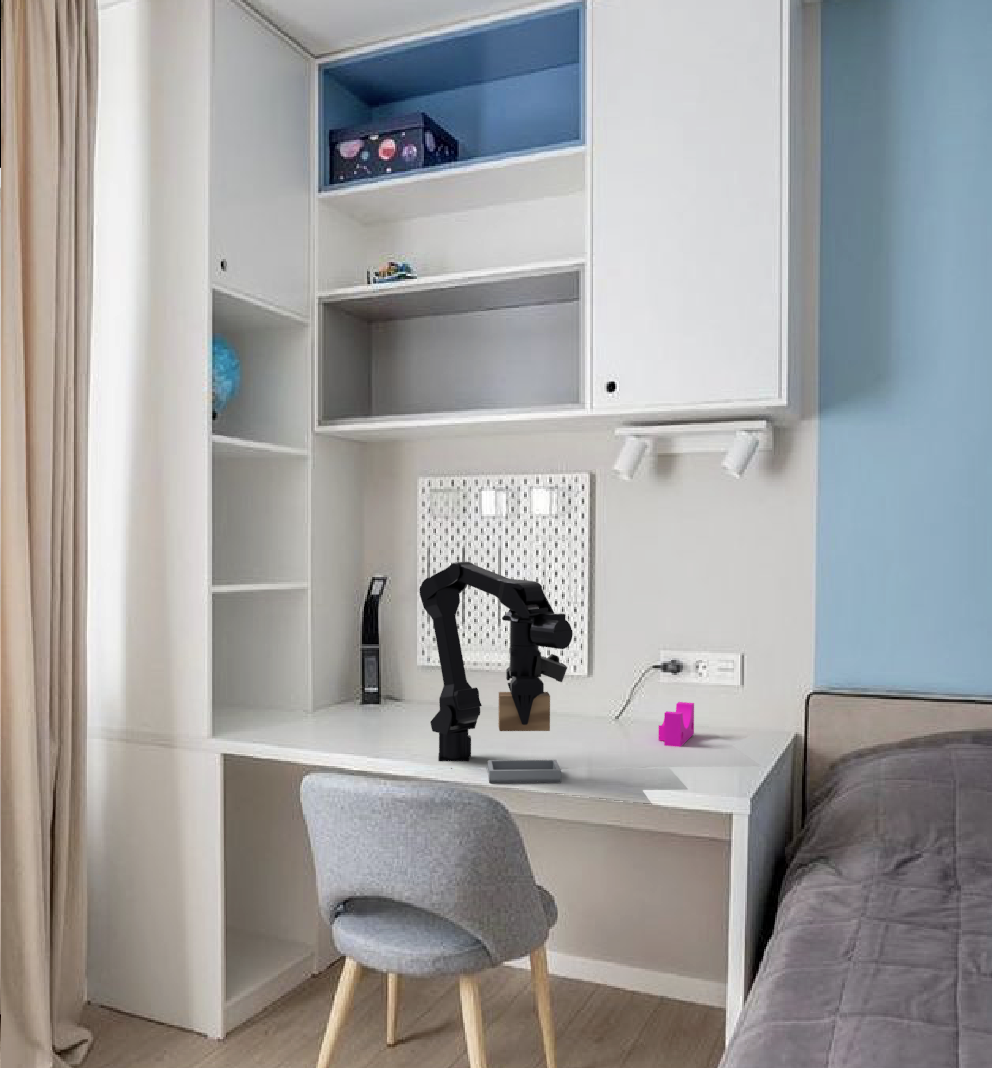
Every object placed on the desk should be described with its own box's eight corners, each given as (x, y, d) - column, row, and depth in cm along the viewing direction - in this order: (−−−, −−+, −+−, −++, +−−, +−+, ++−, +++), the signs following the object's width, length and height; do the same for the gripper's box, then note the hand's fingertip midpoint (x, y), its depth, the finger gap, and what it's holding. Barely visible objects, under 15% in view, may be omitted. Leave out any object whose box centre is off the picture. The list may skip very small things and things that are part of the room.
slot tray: (489, 783, 192) (489, 770, 192) (487, 771, 201) (487, 760, 201) (560, 782, 193) (560, 770, 193) (556, 771, 201) (556, 759, 201)
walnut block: (549, 730, 195) (550, 695, 195) (499, 731, 194) (499, 695, 194) (547, 726, 199) (547, 691, 199) (498, 726, 199) (498, 691, 199)
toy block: (668, 731, 241) (668, 701, 241) (693, 733, 238) (694, 703, 238) (653, 744, 227) (653, 712, 227) (680, 746, 225) (680, 714, 225)
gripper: (570, 650, 188) (569, 732, 188) (559, 638, 206) (558, 712, 206) (511, 650, 187) (511, 732, 187) (506, 638, 206) (505, 712, 206)
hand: (523, 722), depth 197 cm, fingers closed on walnut block, 4 cm apart
